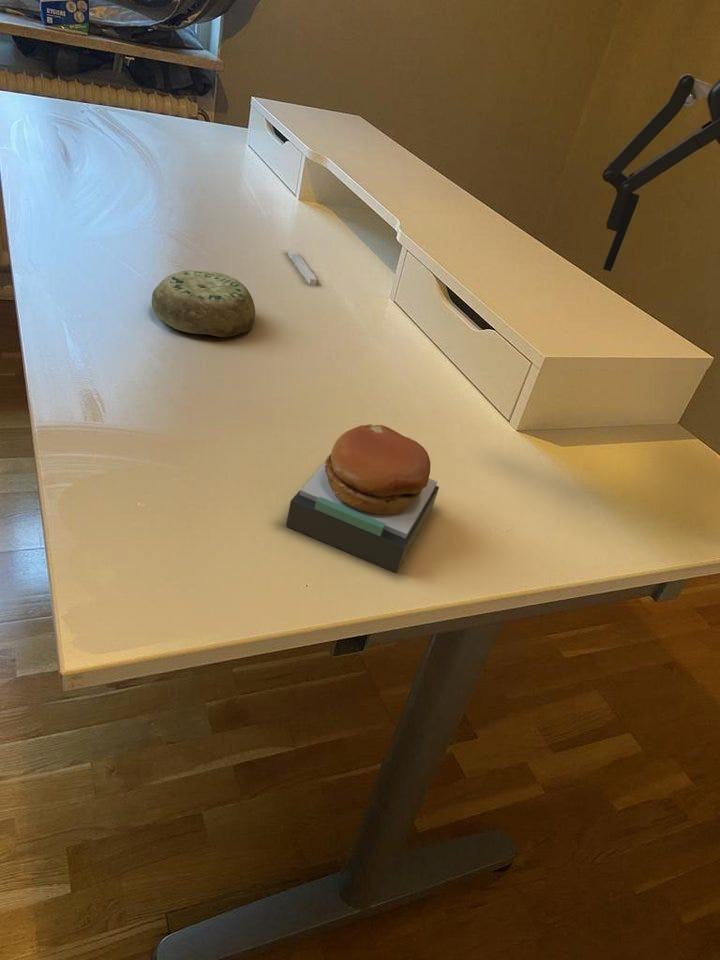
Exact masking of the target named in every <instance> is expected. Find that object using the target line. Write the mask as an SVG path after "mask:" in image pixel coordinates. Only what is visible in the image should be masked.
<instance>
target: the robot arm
mask: <svg viewBox="0 0 720 960" xmlns="http://www.w3.org/2000/svg"><path fill="white" fill-rule="evenodd" d="M701 99H706V104H707V109H708V114H709V117H710V119H709V120H708V121H707V122H705V123H703V124H702V125H701V126H699V127H698V128H697V129H695V130H694V131H693V132H692V133H690V134H688V135H687V136H685V137H684V138H682V139H680V141H678V142H676V143H675V144H673V145H671V146H670V147H669V148H667V149H666V150H664V151H663V152H661V153H660V154H658V155H657V156H655V157H654V158H652V159H651V160H649V161H648V162H646V163H645V164H644V165H642V166H640V167H639V168H638V169H635V170H634V171H633V172H631V173H630V174H627V173H626V172H625V171H624V170H625V169H626V168H627V167H628V166H630V164H631V163H632V162H633V161H634V160H635V159H636V158H637V157H638V156H639V155H640V154H641V153H642V152H643V150H645V148H647V147H648V146H649V144H651V142H652V141H653V140H654V139H656V137H657V136H658V135H659V134H660V133H661V132H662V131H663V130H664V129H665V128H666V127H667V126H668V125H669V124H670V122H671V121H673V119H674V118H675V117H676V116H677V115H678V114H679V112H680V111H681V109H682V108H683V107H684V108H691V107H693V106H694V105H695V104H697V102H698V101H699V100H701ZM714 141H716V142H717V144H718V145H719V146H720V78H719V79H718V80H717V81H716V82H715V83H714V84H711V83H708V82H705V81H703V80H699V79H697V78H695V77H694V76H693V75H692V74H691V73H684V74H682V75H681V76H680V77H679V79H678V80H677V83H676V85H675V87H674V89H673V91H672V93H671V95H670V96H669V98H668V100H667V102H666V103H665V104H664V105H663V106H661V108H660V109H659V110H658V111H657V112H656V113H655V114H654V115H653V116H652V117H651V119H650V120H649V121H647V123H646V124H645V125H644V126H643V127H642V128H641V129H640V130H639V131H638V132H637V133H636V134H635V135H634V137H633V138H631V140H630V141H628V143H627V144H626V145H625V146H624V147H623V148H622V149H621V151H619V153H618V154H617V155H615V156H614V158H613V159H612V160H611V161H610V162H609V163H608V164H607V165H606V167H604V170H603V172H602V175H601V177H602V179H603V181H604V182H606V183H608V184H610V185H611V186H612V187H613V188H615V191H616V195H615V199H614V201H613V204H612V206H611V209H610V212H609V214H608V217H607V220H606V230H609V231H614V232H615V235H614V237H613V240H612V242H611V245H610V248H609V251H608V254H607V256H606V259H605V261H604V264H603V267H602V270H604V271H607V272H612V270H613V267H614V265H615V262H616V260H617V256H618V255H619V251H620V249H621V247H622V243H623V241H624V239H625V236H626V234H627V231H628V228H629V226H630V223H631V221H632V218H633V215H634V212H635V211H636V208H637V205H638V203H639V199H640V194H639V193H634V192H635V191H637V190H639V189H640V188H642V187H643V186H645V185H646V184H648V183H649V182H651V181H652V180H654V179H656V178H657V177H659V176H660V175H661V174H663V173H665V172H666V171H668V170H670V169H671V168H673V167H674V166H675V165H677V164H679V163H681V161H683V160H685V159H686V158H688V157H689V156H691V155H692V154H694V153H695V152H697V151H698V150H700V149H702V148H704V147H706V146H707V145H709V144H710V143H712V142H714Z"/></svg>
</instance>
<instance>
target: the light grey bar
mask: <svg viewBox="0 0 720 960" xmlns="http://www.w3.org/2000/svg"><path fill="white" fill-rule="evenodd" d="M287 255H288V257H289V259H290V260H291V261H292V262H293V264H294V266H295V267H296V268H297V270H298V271H299V272H300V273H301V275H302V277H303V278H304V280H305V281H306V282H307V283H308V285H314V286H315V285H317V281H318V279H317V277H316V275H315V274H314V273H313V272H312V271H311V269H310V268H309V266H308V265H307V264H306V262H305V261H304V260H303V258H302V257H301V256H300V254H299V252H297V250H296V249H288V254H287Z"/></svg>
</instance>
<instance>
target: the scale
mask: <svg viewBox="0 0 720 960" xmlns="http://www.w3.org/2000/svg"><path fill="white" fill-rule="evenodd" d="M325 465H326V463H325V461H324V462H323V463H322V464H321V466H320V467H319V468H318V469H317V470H316V471H315V472H314V473H313V475H312V476H311V477H310V478H309V479H308V481H306V483H305V484H304V485H303V486H302V487H301V488H300V490H299V491H298V492H297V493H296V494H295V495H294V496H293V497H292V499H291V500H290V501H289V502H290V503H289V507H288V512H287V517H286V518H287V519H286V524H285V527H287V528H289V529H292V530H295V531H296V532H299V533H301V534H303V535H306V536H308V537H310V538H312V539H315V540H318V541H320V542H323V543H324V544H327V545H329V546H331V547H333V548H337V549H339V550H342V551H344V552H346V553H348V554H350V555H352V556H355V557H358V558H360V559H362V560H365V561H367V562H369V563H372V564H374V565H376V566H379V567H381V568H384V569H386V570H388V571H390V572H393V573H395V574H397V573H398V571H399V570H400V567H402V564H403V562H404V561H405V559H406V557H407V555H408V554H409V551H410V550H411V548H412V546H413V545H414V543H415V541H416V539H417V537H418V535H419V534H420V532H421V530H422V529H423V527H424V525H425V523H426V522H427V519H428V518H429V515H430V514H431V512H432V511H433V507H434V504H435V501H436V498H437V495H438V492H439V490H440V486H438V481H437V480H434V479H431V478H429V479H428V483H427V486H426V487H425V488H423V489H422V491H421V492H420V494H419V496H418V497H417V499H416V500H415V501H414V502H413V503H412V504H411V505H410V506H409V507H408V508H407V509H406V510H404V511H403V512H401V513H399V514H390V515H384V514H374V513H369V512H363V511H360V510H358V509H356V508H355V507H352V506H349V505H347V504H346V503H344V502H342V501H340V500H339V499H338V498H337V497H336V496H335V493H334V492H333V491H332V489H331V487H330V485H329V482H328V477H327V474H326V471H325V469H326V468H325Z"/></svg>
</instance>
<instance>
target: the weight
mask: <svg viewBox="0 0 720 960" xmlns="http://www.w3.org/2000/svg"><path fill="white" fill-rule="evenodd" d="M151 307H152V309H153V312H154V314H155V315H156V317H157V318H158V319H159V320H161V321H162V322H163V323H165V324H166V325H168V326H170V327H172V328H173V329H174V330H176V331H180V332H184V333H189V334H197V335H210V336H214V337H217V338H218V337H219V338H229V337H230V338H231V337H234V336H236V335H241V334H244V333H246V332H248V331H249V330H250V329H251V327H252V326H253V325H254V323H255V320H256V307H255V302H254V299H253V297H252V295H251V293H250V291H249V290H248V288H247V287H246V286H245V285H244V283H242V282H241V281H239V280H238V279H236V278H235V277H233V276H231V275H227V274H224V273H221V272H217V271H210V270H193V269H192V270H191V269H187V270H182V271H177V272H174V273H171V274H170V275H167V276H166V277H164V278H163V280H161V281H160V282H159V284H158V285H157V286H156V287H155V288H154V289H153V291H152V294H151Z"/></svg>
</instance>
